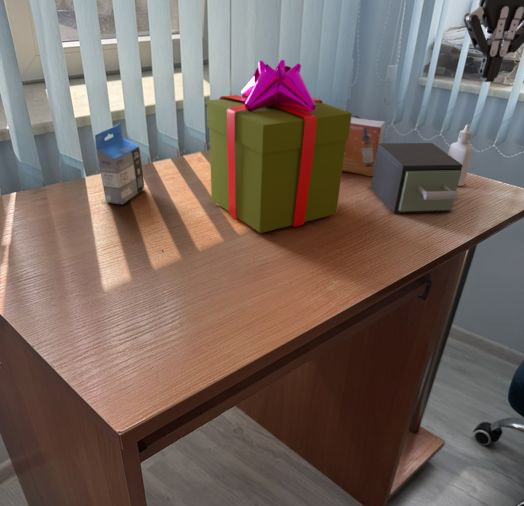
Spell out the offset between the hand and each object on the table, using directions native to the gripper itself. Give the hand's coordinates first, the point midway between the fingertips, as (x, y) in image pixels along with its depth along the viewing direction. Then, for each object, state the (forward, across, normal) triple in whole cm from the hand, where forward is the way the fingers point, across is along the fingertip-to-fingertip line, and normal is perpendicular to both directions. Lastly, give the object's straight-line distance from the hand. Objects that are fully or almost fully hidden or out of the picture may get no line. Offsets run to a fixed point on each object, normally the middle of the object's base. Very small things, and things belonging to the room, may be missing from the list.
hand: (486, 80), depth 87 cm
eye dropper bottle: (+23, +8, +15) cm, 29 cm away
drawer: (+22, -6, +2) cm, 23 cm away
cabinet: (+23, -6, +6) cm, 25 cm away
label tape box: (+23, -63, +12) cm, 68 cm away
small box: (+23, -11, +24) cm, 35 cm away
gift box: (+23, -35, +3) cm, 42 cm away
